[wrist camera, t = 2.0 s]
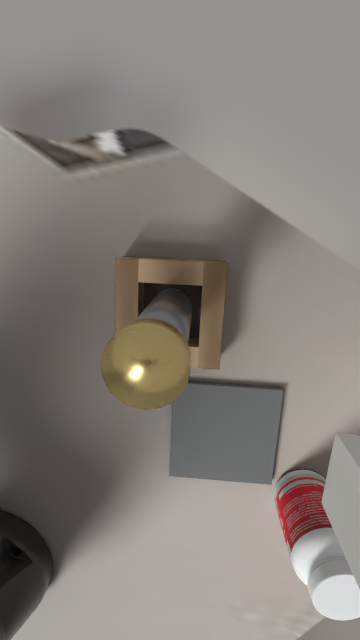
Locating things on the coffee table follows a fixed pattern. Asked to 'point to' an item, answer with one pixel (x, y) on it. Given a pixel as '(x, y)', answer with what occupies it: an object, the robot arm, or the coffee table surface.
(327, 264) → the coffee table surface
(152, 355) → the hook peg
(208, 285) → the block
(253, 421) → the rubber mat
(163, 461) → the coffee table surface
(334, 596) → the pill bottle
